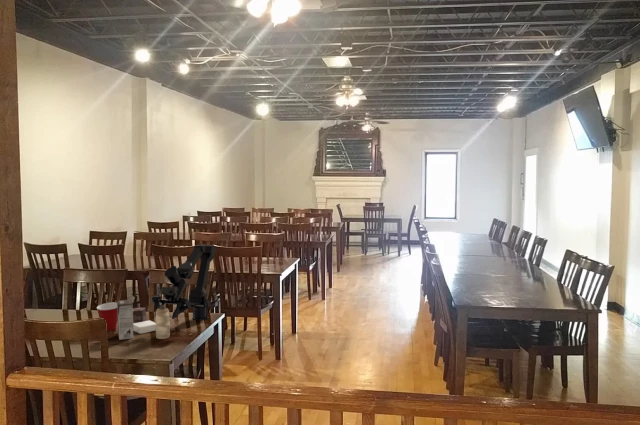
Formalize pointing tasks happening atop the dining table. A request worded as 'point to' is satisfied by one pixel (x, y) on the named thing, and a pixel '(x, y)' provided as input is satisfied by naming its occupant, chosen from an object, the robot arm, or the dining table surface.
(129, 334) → the coffee box
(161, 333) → the pepper mill
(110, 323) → the plastic cup
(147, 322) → the stand
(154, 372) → the dining table surface
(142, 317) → the box
